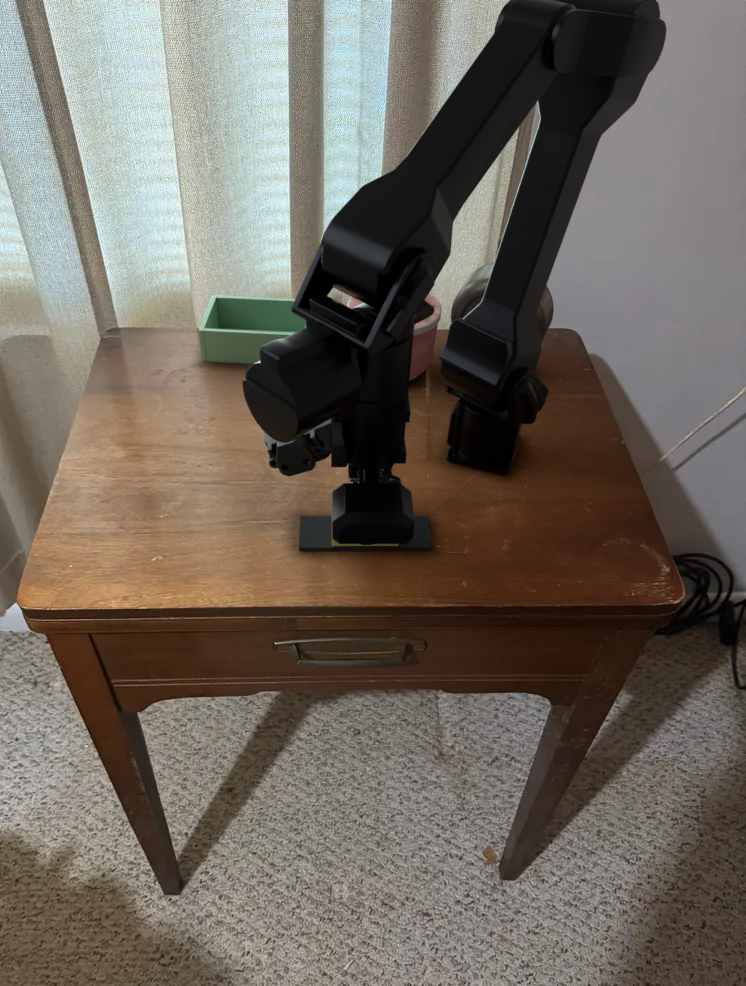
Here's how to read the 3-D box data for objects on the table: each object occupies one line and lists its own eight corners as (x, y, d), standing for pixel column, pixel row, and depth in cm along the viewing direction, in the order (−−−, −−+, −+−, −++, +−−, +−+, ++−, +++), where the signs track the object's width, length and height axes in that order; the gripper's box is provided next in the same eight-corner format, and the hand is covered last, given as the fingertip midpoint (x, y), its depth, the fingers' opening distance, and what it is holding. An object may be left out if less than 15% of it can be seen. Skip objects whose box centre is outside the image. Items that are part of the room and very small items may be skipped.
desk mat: (427, 518, 71) (427, 515, 71) (431, 550, 68) (431, 547, 68) (300, 518, 71) (300, 515, 71) (298, 550, 68) (298, 547, 68)
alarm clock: (541, 365, 90) (573, 230, 78) (530, 389, 87) (562, 251, 75) (454, 344, 93) (472, 212, 82) (440, 366, 90) (456, 231, 78)
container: (414, 403, 84) (421, 339, 79) (330, 379, 88) (330, 316, 82) (447, 357, 91) (455, 295, 85) (367, 337, 94) (370, 276, 88)
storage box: (316, 333, 95) (315, 299, 92) (309, 370, 89) (308, 335, 86) (216, 328, 95) (212, 294, 92) (202, 364, 89) (197, 330, 86)
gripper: (273, 319, 64) (281, 461, 76) (259, 459, 51) (271, 605, 62) (403, 320, 65) (392, 461, 76) (422, 459, 52) (406, 605, 63)
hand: (365, 526), depth 69 cm, fingers closed on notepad, 4 cm apart
